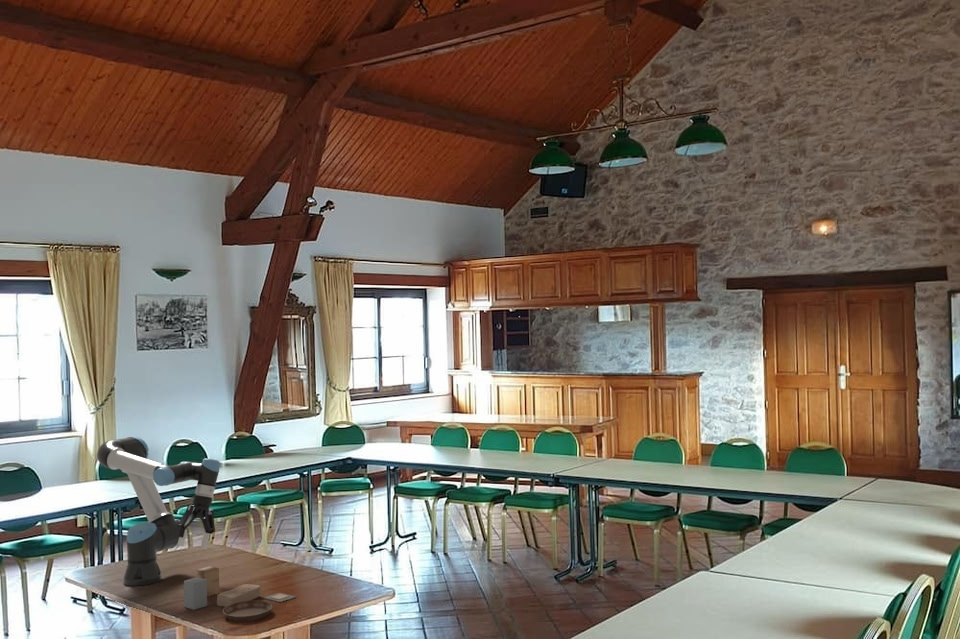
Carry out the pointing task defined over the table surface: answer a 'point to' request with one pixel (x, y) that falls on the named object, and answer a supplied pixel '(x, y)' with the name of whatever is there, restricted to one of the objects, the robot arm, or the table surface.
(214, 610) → the table surface
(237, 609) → the plant saucer
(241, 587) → the brick
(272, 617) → the table surface
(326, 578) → the table surface
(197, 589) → the slate block
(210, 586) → the walnut block
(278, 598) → the card
